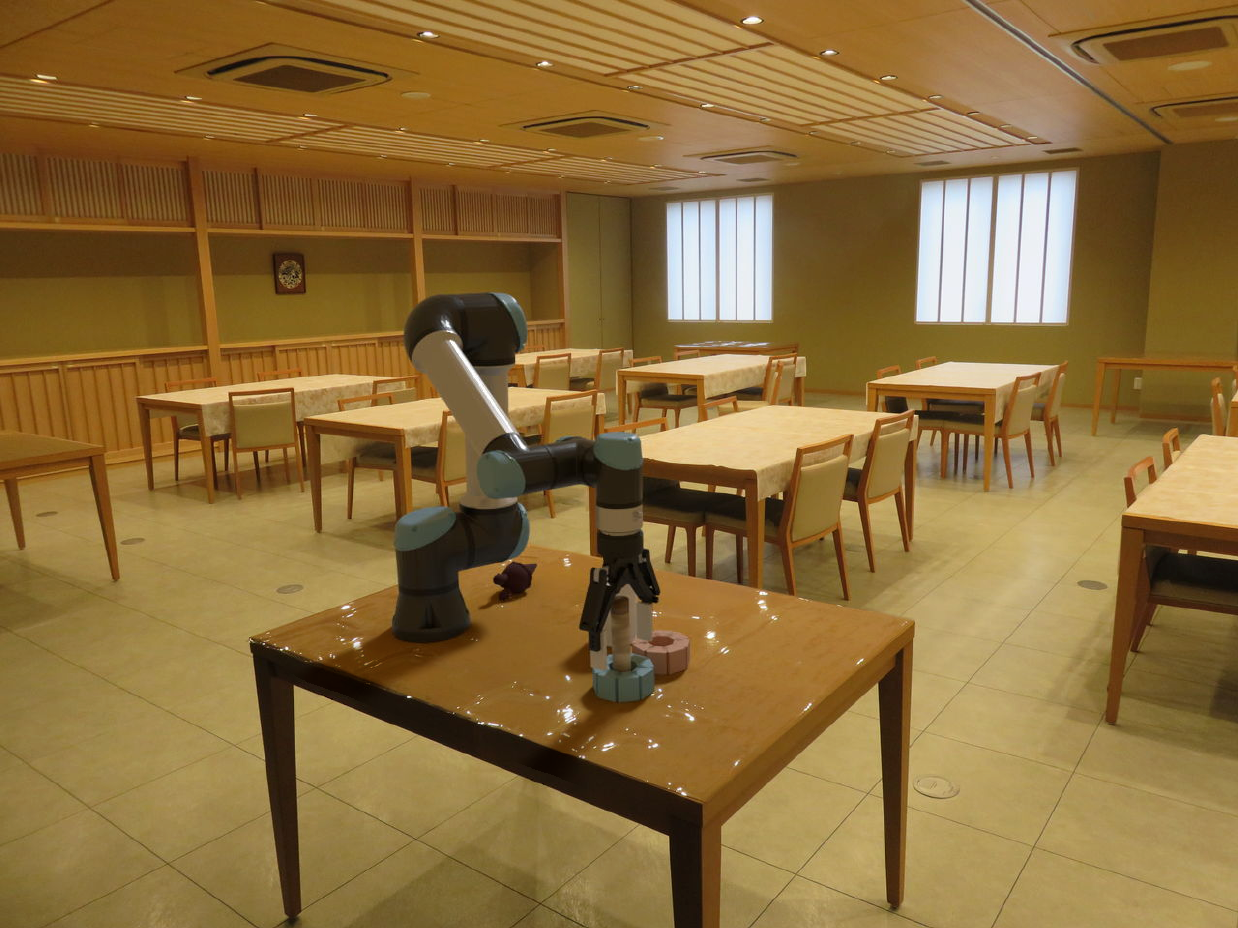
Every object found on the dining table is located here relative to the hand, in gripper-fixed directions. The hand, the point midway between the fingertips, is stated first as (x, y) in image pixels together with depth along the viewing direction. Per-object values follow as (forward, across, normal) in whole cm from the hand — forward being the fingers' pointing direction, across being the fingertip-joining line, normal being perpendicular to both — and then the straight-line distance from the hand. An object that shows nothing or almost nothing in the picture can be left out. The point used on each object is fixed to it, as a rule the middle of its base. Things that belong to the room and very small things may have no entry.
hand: (622, 653), depth 149 cm
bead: (+6, 0, 0) cm, 6 cm away
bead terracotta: (+6, +12, 0) cm, 13 cm away
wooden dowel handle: (+6, 0, 0) cm, 6 cm away
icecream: (+6, +27, +46) cm, 54 cm away
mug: (+6, +15, +13) cm, 21 cm away
